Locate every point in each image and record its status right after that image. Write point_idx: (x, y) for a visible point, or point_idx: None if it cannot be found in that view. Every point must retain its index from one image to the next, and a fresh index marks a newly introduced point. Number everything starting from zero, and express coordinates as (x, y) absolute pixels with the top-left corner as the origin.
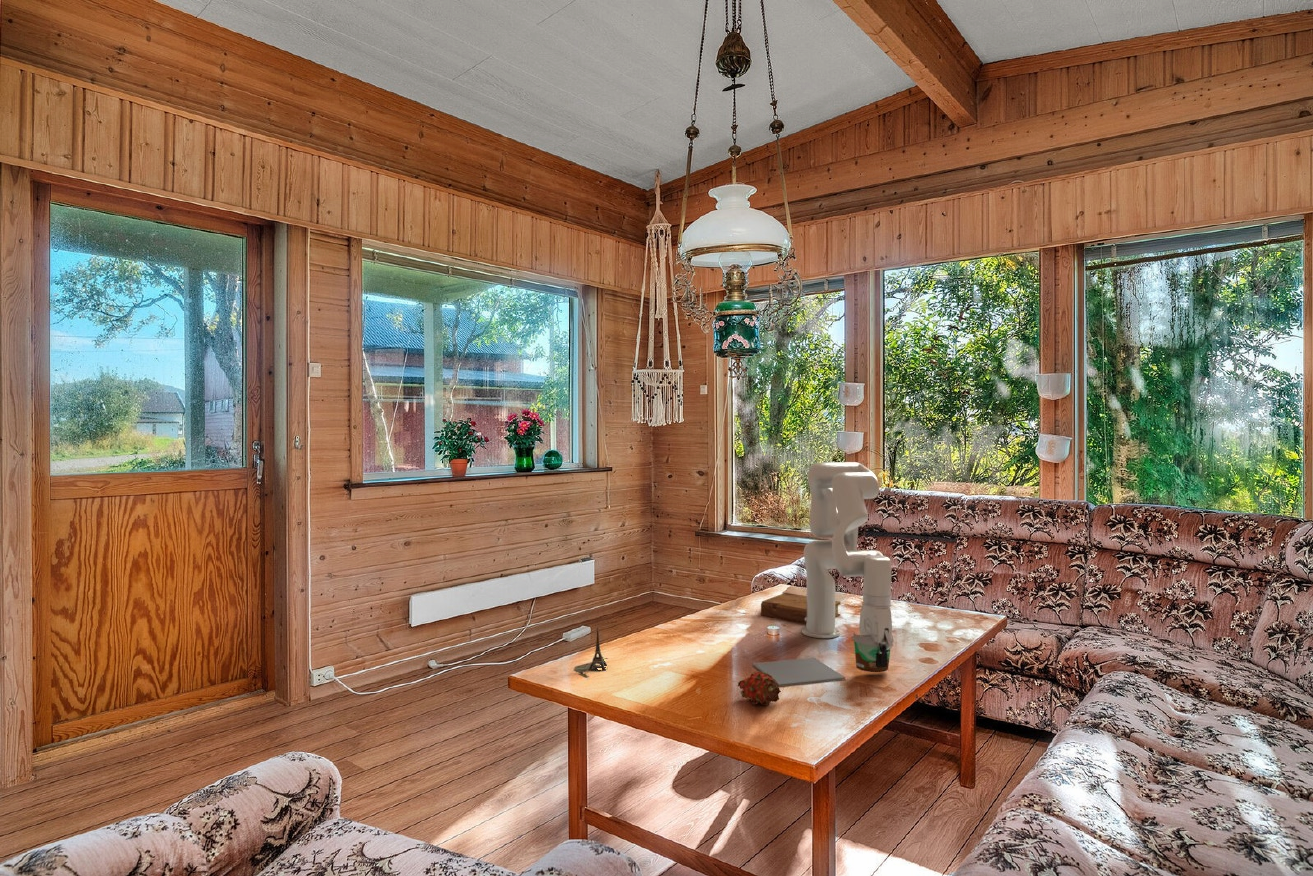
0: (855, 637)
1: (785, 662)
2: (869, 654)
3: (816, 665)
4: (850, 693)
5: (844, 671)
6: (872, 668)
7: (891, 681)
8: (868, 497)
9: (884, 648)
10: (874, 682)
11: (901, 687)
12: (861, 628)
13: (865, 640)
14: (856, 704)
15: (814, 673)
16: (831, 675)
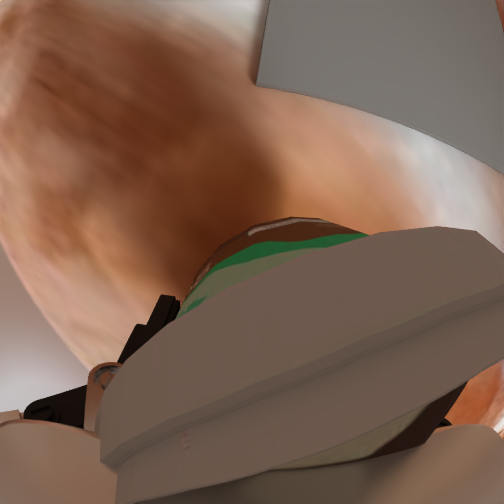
0: (478, 279)
1: (494, 40)
2: (193, 302)
3: (456, 98)
4: (84, 20)
5: (368, 179)
6: (199, 272)
7: (137, 312)
8: None
9: (31, 411)
10: (148, 221)
11: (63, 298)
12: (496, 496)
13: (175, 388)
14: (11, 15)
15: (372, 2)
16: (318, 40)
